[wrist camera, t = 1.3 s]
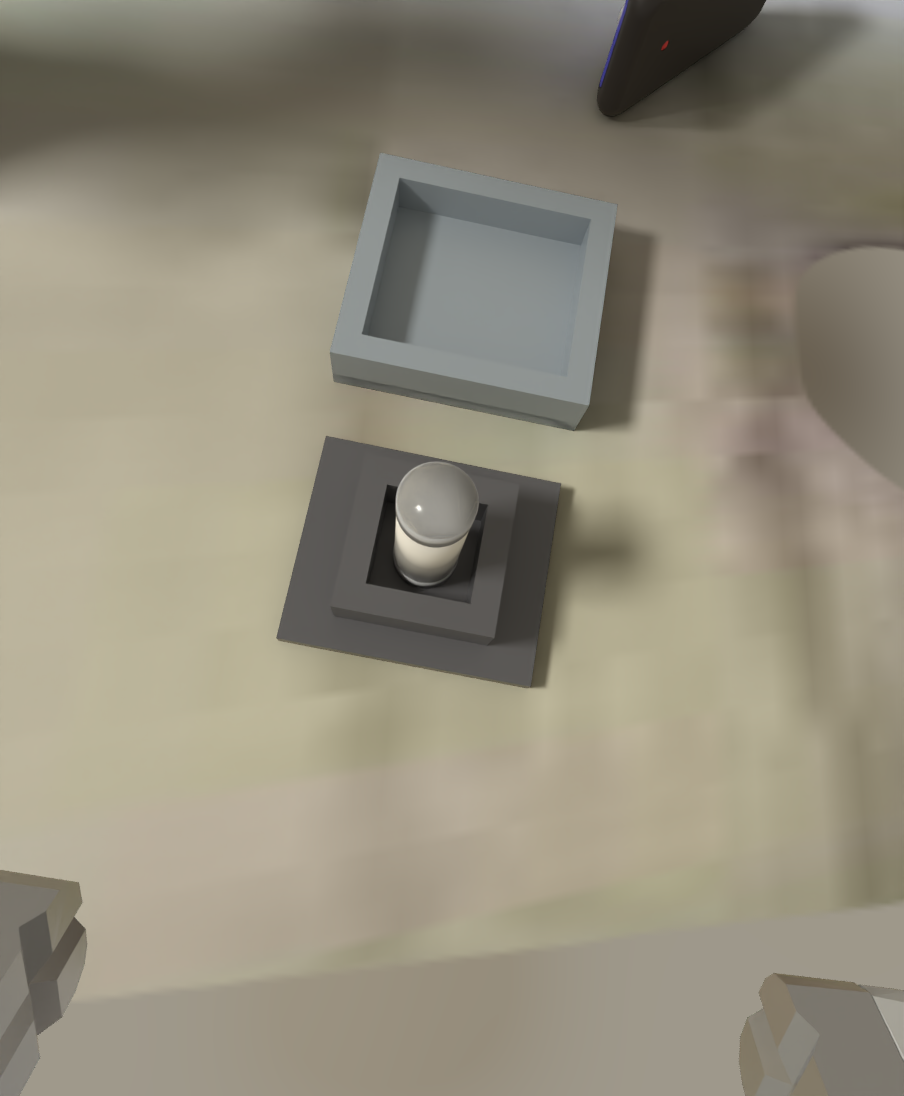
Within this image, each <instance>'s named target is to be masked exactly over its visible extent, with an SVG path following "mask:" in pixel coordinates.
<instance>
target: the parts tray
mask: <svg viewBox="0 0 904 1096" xmlns="http://www.w3.org/2000/svg"><path fill="white" fill-rule="evenodd" d="M617 205H618V204H613V203H609V202H604V201H600V200H595V199H591V198H586V197H581V196H577V195H572V194H568V193H563V192H558V191H554V190H549V189H545V188H540V187H536V186H531V185H526V184H522V183H517V182H513V181H508V180H503V179H499V178H494V177H490V176H485V175H481V174H476V173H471V172H467V171H462V170H458V169H453V168H448V167H444V166H439V165H435V164H430V163H426V162H421V161H416V160H412V159H407V158H403V157H398V156H393V155H389V154H384V153H380V156H379V160H378V164H377V168H376V172H375V176H374V180H373V183H372V187H371V191H370V195H369V199H368V203H367V207H366V211H365V215H364V219H363V223H362V227H361V231H360V235H359V239H358V243H357V247H356V251H355V255H354V259H353V262H352V266H351V270H350V274H349V278H348V282H347V286H346V290H345V294H344V298H343V302H342V306H341V310H340V314H339V318H338V322H337V326H336V330H335V334H334V338H333V341H332V345H331V349H330V357H331V364H332V372H333V379H334V382H339V383H344V384H349V385H354V386H358V387H363V388H368V389H373V390H378V391H383V392H388V393H392V394H397V395H402V396H407V397H412V398H417V399H422V400H427V401H431V402H436V403H441V404H446V405H451V406H456V407H461V408H465V409H470V410H475V411H480V412H485V413H490V414H495V415H499V416H504V417H509V418H514V419H519V420H524V421H529V422H534V423H538V424H543V425H548V426H553V427H558V428H563V429H568V430H572V431H574V430H575V428H576V426H577V425H578V423H579V421H580V420H581V418H582V417H583V415H584V413H585V412H586V410H587V408H588V407H589V402H590V395H591V388H592V381H593V374H594V367H595V360H596V353H597V346H598V339H599V332H600V325H601V318H602V311H603V304H604V297H605V289H606V282H607V275H608V268H609V261H610V254H611V247H612V240H613V233H614V226H615V219H616V212H617Z"/></svg>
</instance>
